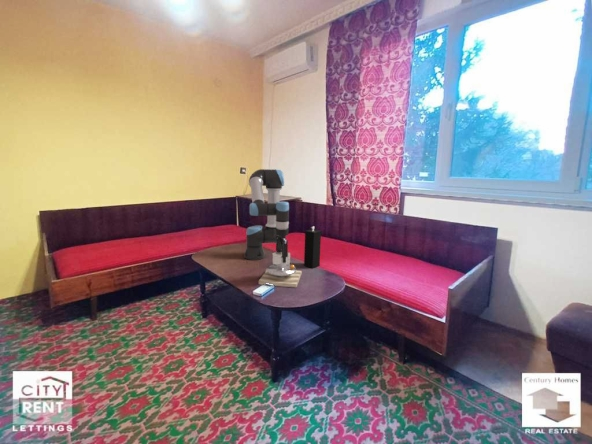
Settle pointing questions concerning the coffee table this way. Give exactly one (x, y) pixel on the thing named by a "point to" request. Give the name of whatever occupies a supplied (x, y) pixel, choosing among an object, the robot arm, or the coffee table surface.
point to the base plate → (281, 279)
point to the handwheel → (276, 266)
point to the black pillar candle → (312, 248)
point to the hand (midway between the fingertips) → (281, 265)
